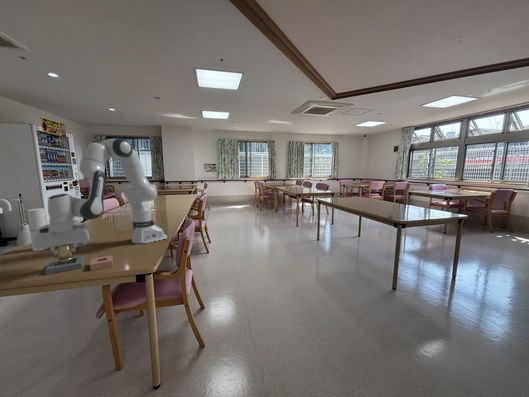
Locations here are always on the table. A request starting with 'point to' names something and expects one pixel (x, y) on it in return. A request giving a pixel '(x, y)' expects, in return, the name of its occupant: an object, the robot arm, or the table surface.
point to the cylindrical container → (36, 224)
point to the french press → (78, 243)
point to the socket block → (75, 264)
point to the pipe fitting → (64, 253)
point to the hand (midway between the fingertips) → (65, 253)
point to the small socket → (101, 262)
